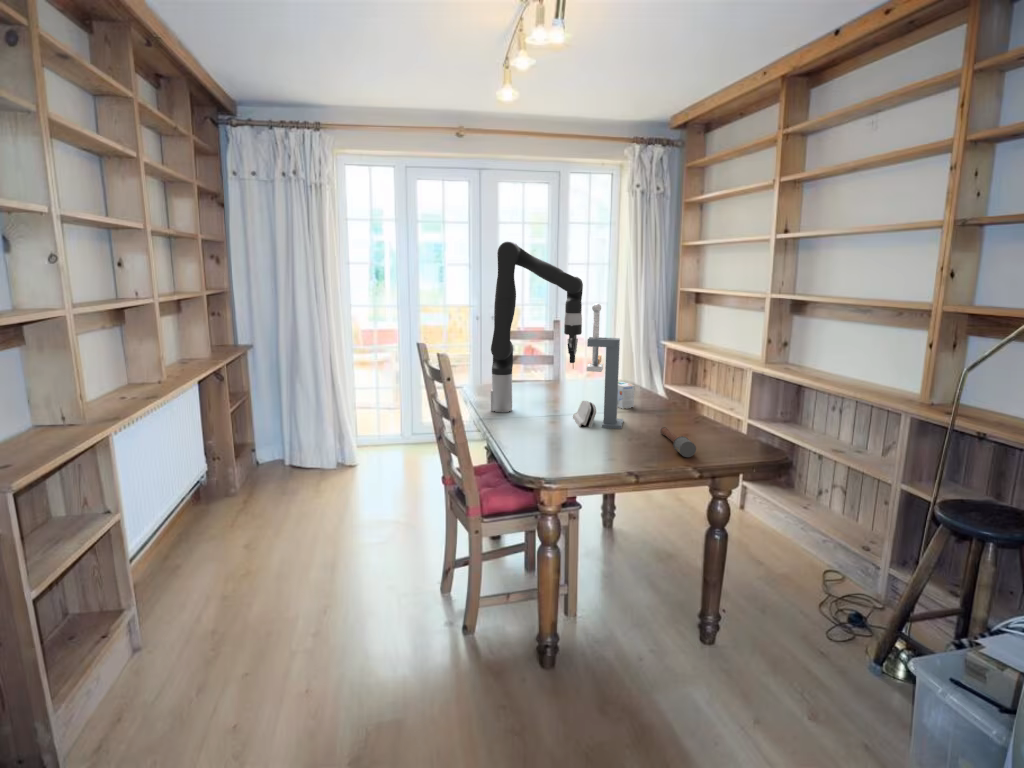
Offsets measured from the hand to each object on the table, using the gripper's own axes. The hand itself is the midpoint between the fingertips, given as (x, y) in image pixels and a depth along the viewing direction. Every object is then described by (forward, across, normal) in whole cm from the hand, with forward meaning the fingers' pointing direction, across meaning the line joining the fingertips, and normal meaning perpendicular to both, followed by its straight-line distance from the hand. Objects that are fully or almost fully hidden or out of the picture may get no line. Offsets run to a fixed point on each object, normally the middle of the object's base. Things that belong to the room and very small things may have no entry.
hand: (572, 362), depth 257 cm
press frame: (+23, +13, +16) cm, 31 cm away
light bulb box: (+24, -22, +21) cm, 38 cm away
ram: (0, +7, +11) cm, 14 cm away
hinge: (+24, +12, +8) cm, 28 cm away
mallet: (+24, +36, +45) cm, 62 cm away
